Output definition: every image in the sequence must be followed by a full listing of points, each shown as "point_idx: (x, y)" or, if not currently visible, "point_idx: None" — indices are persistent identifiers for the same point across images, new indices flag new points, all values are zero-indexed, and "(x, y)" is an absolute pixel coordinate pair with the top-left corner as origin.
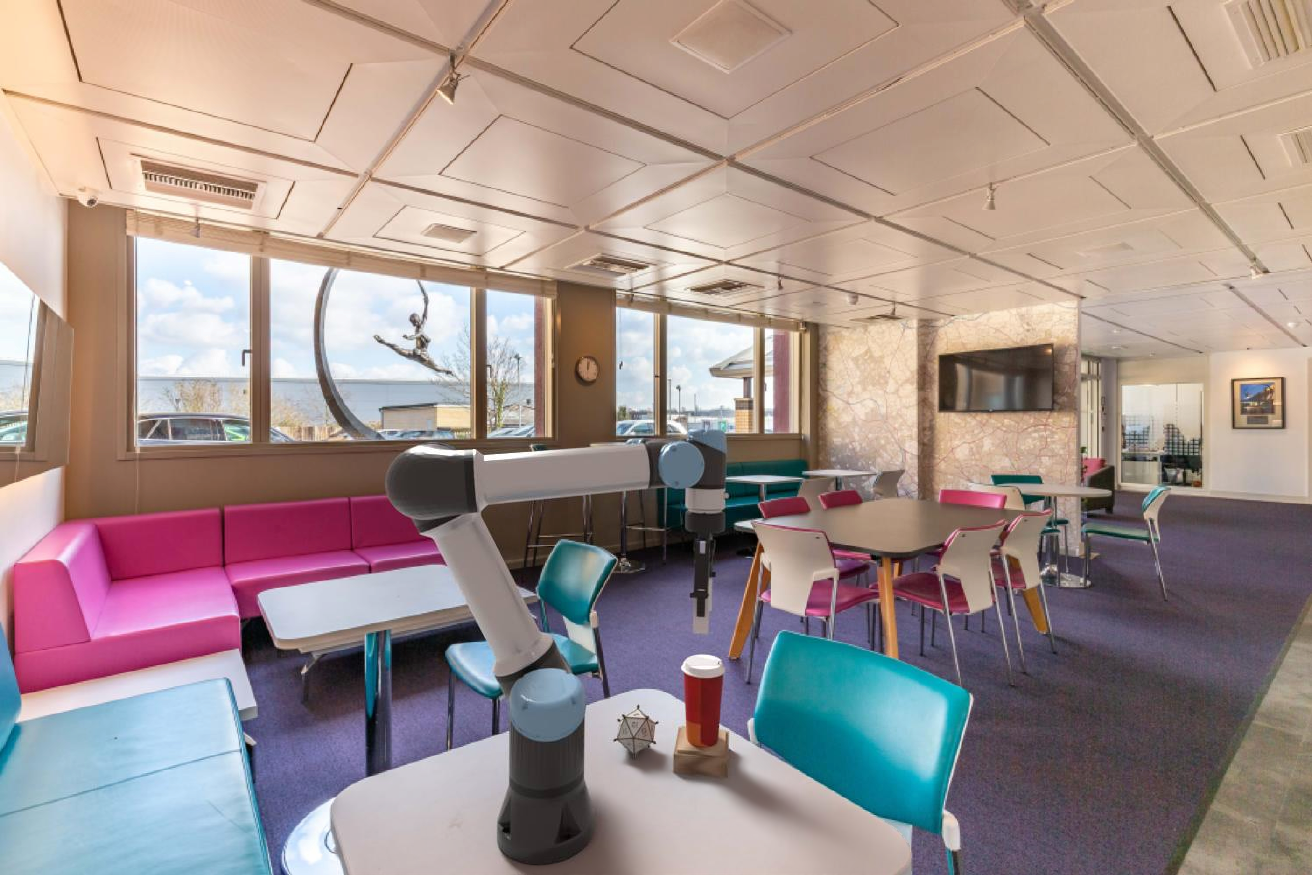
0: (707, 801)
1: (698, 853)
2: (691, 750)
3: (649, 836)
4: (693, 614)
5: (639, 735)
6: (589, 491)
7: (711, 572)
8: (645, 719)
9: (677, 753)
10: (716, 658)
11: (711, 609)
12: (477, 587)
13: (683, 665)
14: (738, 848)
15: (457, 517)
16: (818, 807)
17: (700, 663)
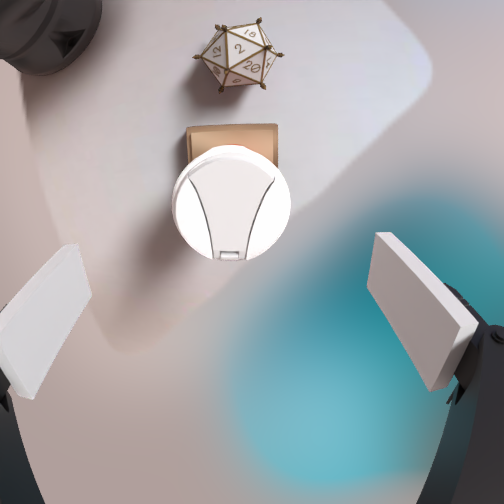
0: (136, 184)
1: (55, 188)
2: (192, 156)
3: (62, 131)
4: (26, 284)
5: (208, 64)
6: None
7: (447, 419)
8: (225, 68)
9: (189, 133)
10: (263, 245)
11: (369, 290)
12: None
13: (233, 151)
14: (74, 227)
15: None
16: (164, 305)
17: (215, 205)
